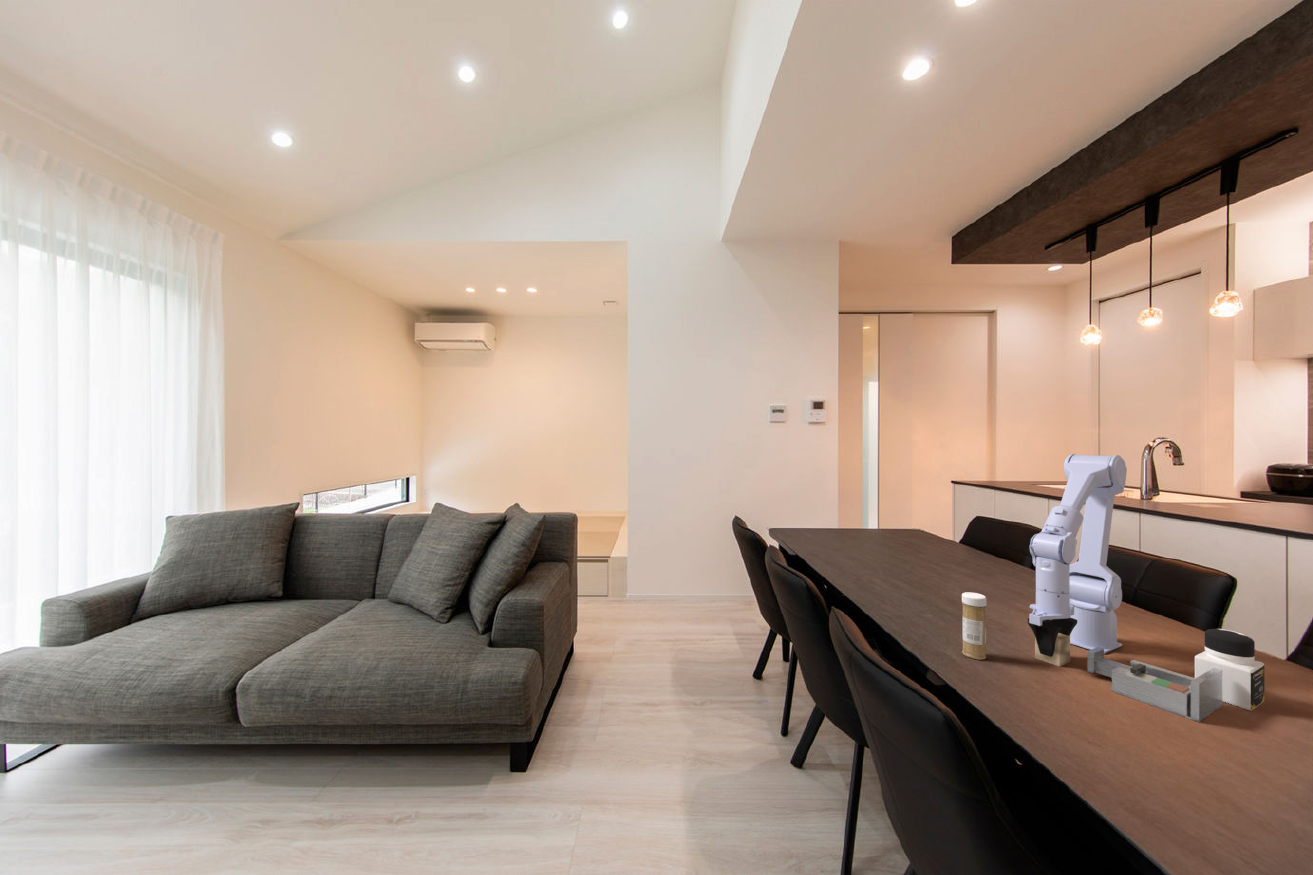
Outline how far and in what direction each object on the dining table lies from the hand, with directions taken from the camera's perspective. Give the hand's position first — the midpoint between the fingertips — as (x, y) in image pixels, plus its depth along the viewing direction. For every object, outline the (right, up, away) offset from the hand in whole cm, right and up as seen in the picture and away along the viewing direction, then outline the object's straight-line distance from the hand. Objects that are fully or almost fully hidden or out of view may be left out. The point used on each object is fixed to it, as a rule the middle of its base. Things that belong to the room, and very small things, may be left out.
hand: (1052, 652), depth 106 cm
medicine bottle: (+20, -2, -15) cm, 26 cm away
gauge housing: (+8, -2, -16) cm, 18 cm away
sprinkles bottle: (-16, -2, +2) cm, 16 cm away
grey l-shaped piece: (+4, -1, -11) cm, 11 cm away
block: (0, -2, 0) cm, 2 cm away
